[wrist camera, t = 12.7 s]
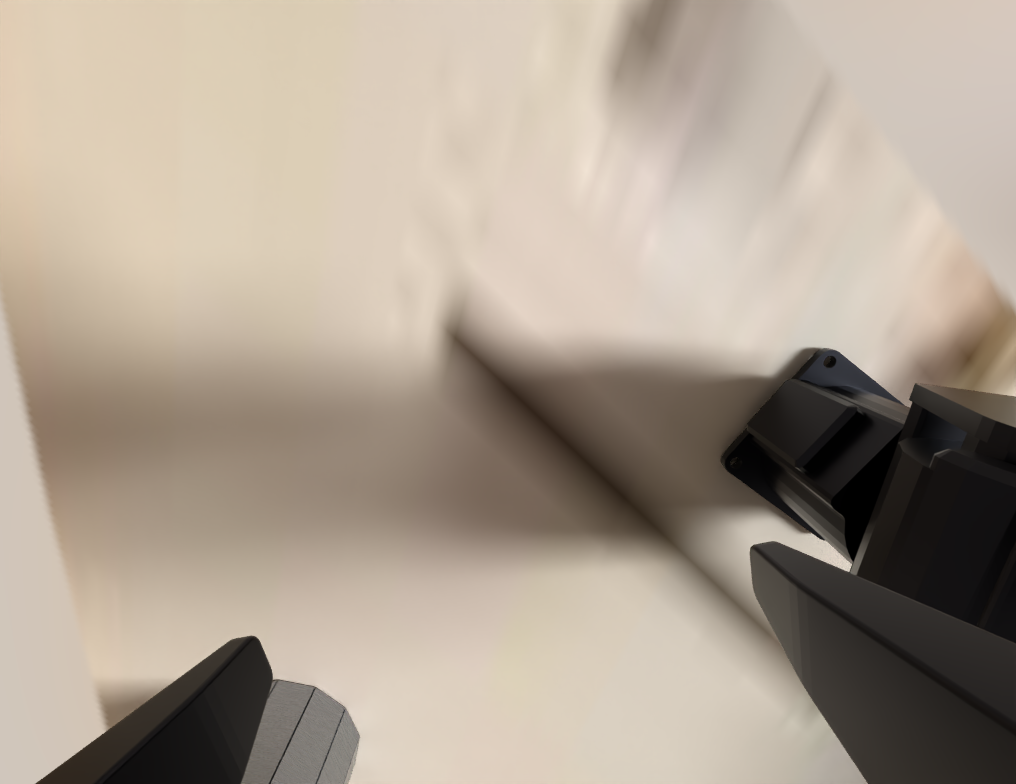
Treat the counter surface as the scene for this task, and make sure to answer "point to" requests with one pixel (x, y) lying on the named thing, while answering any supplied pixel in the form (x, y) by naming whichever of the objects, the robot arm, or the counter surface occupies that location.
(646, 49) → the counter surface
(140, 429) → the counter surface
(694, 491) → the counter surface
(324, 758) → the steel cup
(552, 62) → the counter surface
